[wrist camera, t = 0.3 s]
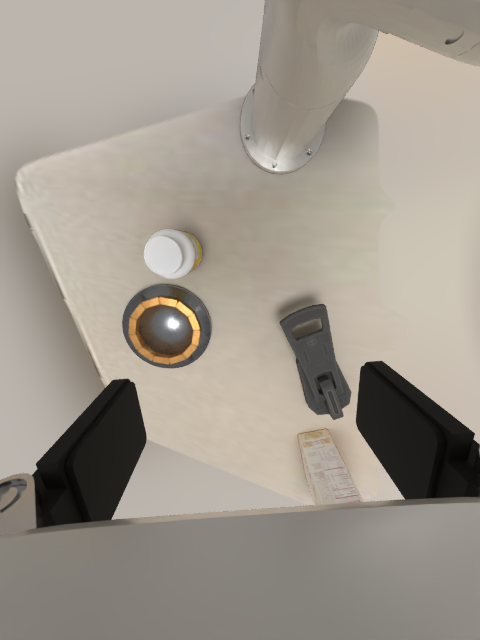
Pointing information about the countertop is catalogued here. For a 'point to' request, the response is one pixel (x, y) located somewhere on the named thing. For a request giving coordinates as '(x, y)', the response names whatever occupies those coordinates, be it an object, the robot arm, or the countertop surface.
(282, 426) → the countertop surface
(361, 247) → the countertop surface
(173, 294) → the rosette plate
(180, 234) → the supplement bottle
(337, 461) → the coffeecake box
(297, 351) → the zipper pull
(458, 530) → the robot arm
